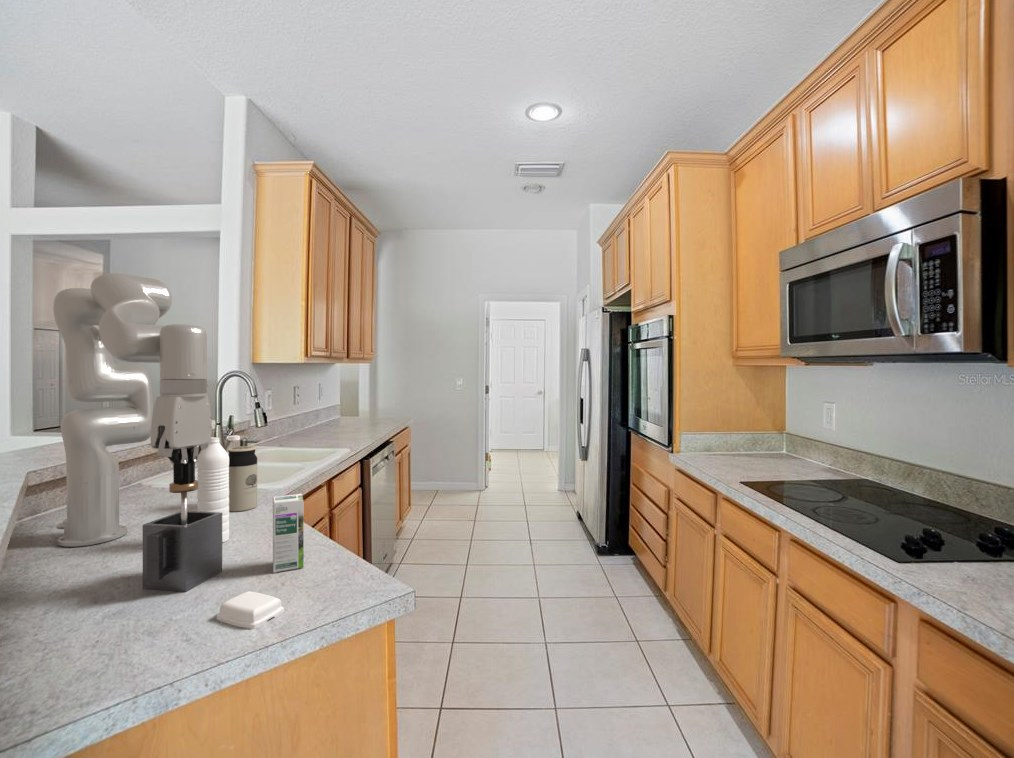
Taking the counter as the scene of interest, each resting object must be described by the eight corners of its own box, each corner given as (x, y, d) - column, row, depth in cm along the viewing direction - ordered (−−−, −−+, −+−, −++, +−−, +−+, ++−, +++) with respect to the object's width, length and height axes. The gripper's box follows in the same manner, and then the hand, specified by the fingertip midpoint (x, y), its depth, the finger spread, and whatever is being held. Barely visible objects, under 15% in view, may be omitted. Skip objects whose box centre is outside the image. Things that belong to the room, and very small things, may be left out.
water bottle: (197, 548, 106) (197, 439, 106) (197, 539, 112) (197, 436, 111) (240, 541, 111) (240, 437, 111) (238, 533, 116) (238, 434, 116)
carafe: (130, 594, 84) (130, 528, 84) (182, 568, 95) (182, 510, 95) (175, 598, 83) (174, 531, 83) (222, 571, 94) (222, 512, 94)
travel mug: (221, 509, 136) (221, 448, 136) (248, 503, 143) (248, 445, 143) (235, 513, 132) (235, 451, 132) (262, 507, 139) (262, 447, 139)
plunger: (155, 568, 87) (154, 486, 87) (182, 555, 94) (182, 478, 94) (185, 570, 87) (185, 487, 86) (211, 556, 93) (211, 479, 93)
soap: (287, 612, 79) (287, 595, 79) (252, 632, 73) (252, 614, 73) (249, 602, 82) (249, 586, 82) (212, 621, 76) (212, 603, 76)
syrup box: (272, 573, 93) (273, 502, 93) (272, 563, 98) (272, 495, 98) (303, 568, 96) (303, 498, 96) (301, 558, 101) (302, 492, 101)
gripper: (197, 387, 98) (197, 474, 98) (130, 389, 83) (131, 491, 83) (229, 387, 97) (229, 475, 97) (168, 390, 82) (168, 493, 82)
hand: (184, 482), depth 90 cm, fingers closed
